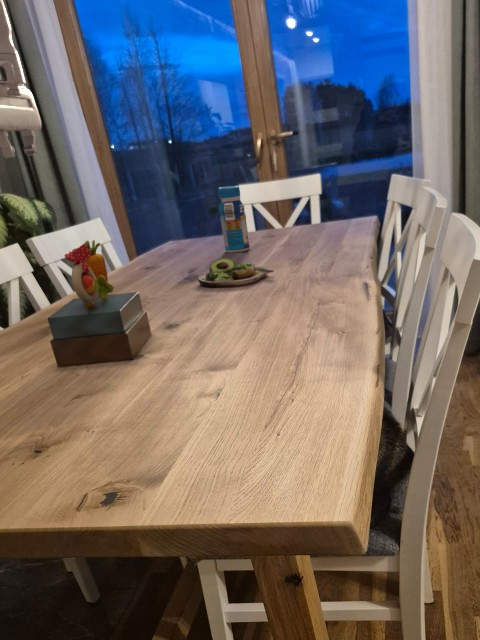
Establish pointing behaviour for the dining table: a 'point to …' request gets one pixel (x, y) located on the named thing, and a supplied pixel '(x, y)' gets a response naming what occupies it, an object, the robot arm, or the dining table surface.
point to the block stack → (99, 330)
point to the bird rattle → (87, 278)
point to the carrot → (96, 261)
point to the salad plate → (232, 274)
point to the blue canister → (233, 220)
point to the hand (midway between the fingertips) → (21, 156)
